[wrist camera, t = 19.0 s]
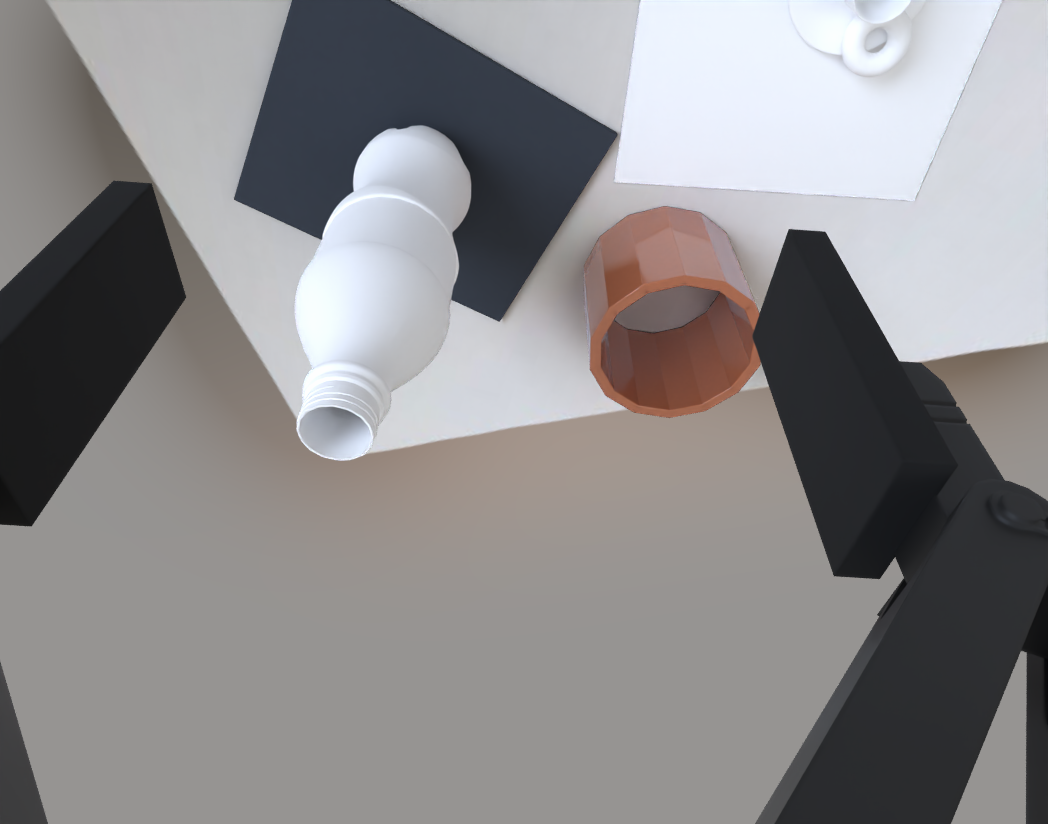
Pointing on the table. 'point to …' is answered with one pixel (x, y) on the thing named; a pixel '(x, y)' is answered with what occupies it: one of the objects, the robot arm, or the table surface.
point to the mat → (411, 100)
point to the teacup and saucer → (868, 20)
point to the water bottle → (379, 287)
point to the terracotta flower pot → (679, 354)
